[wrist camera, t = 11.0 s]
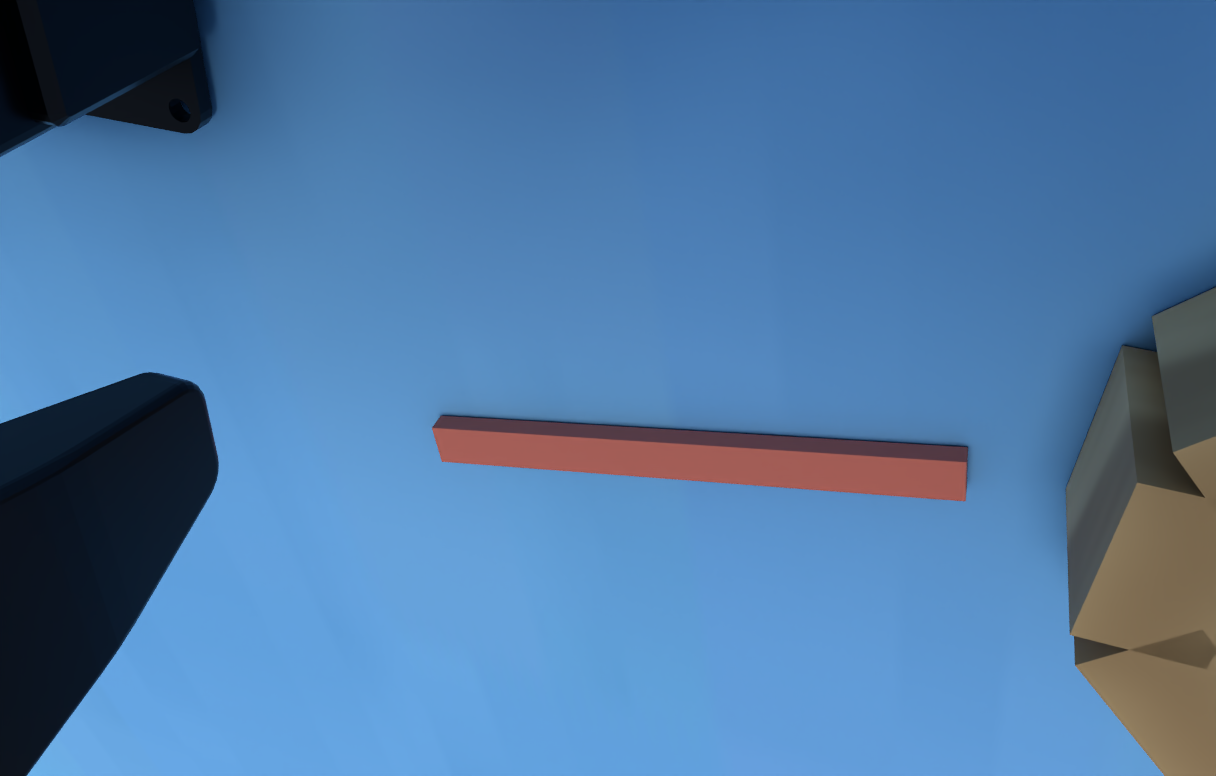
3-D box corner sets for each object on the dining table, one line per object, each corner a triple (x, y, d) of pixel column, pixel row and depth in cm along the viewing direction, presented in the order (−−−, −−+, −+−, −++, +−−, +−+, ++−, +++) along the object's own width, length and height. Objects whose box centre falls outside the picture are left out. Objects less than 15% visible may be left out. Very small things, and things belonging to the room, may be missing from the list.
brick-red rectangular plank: (450, 449, 27) (441, 461, 26) (440, 415, 26) (432, 428, 26) (966, 485, 23) (965, 501, 22) (967, 447, 22) (966, 461, 22)
